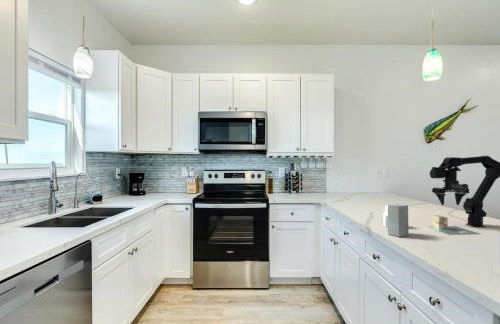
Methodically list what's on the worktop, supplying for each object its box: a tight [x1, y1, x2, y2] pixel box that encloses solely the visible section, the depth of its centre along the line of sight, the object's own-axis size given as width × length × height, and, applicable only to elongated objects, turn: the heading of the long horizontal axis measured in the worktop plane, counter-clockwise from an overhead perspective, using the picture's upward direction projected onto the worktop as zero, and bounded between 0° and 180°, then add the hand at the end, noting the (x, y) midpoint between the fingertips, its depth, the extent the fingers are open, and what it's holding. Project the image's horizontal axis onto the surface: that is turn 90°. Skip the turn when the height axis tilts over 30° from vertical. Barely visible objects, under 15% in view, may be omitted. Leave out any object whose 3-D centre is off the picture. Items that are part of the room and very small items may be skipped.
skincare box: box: [387, 203, 409, 238], centre depth 138 cm, size 8×7×16 cm
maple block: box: [431, 214, 449, 231], centre depth 149 cm, size 5×5×7 cm
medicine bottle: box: [382, 205, 388, 229], centre depth 155 cm, size 7×7×12 cm
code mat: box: [428, 225, 481, 236], centre depth 146 cm, size 18×16×1 cm
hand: (450, 205), depth 157 cm, fingers open, 9 cm apart
